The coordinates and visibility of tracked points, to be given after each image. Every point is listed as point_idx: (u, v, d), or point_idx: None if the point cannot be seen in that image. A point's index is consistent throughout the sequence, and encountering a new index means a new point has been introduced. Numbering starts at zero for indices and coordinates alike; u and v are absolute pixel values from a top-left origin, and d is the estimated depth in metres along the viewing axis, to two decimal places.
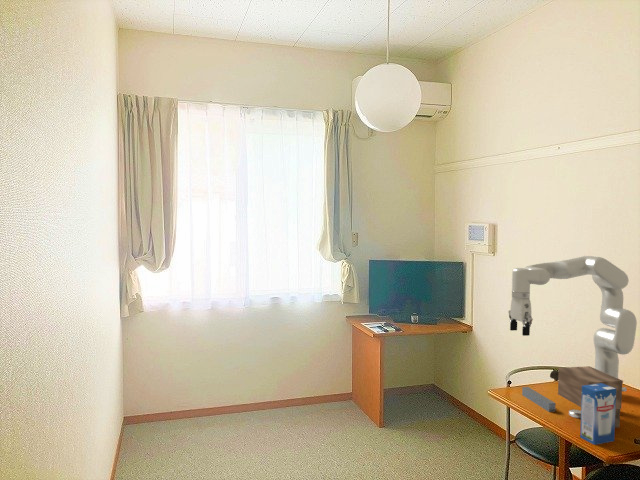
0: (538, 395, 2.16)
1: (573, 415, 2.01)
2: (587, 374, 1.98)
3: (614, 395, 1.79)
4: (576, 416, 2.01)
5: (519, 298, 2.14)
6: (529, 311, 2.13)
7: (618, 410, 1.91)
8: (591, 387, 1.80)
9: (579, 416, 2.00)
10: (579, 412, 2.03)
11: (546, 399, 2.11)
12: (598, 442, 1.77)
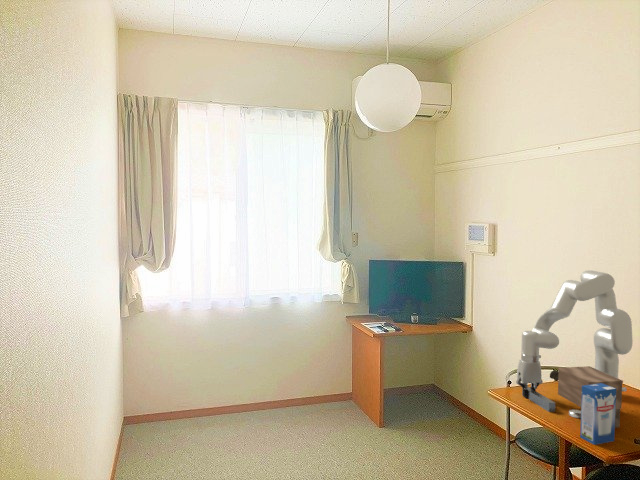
0: (538, 395, 2.16)
1: (573, 415, 2.01)
2: (587, 374, 1.98)
3: (614, 395, 1.79)
4: (576, 416, 2.01)
5: (538, 361, 2.21)
6: None
7: (618, 410, 1.91)
8: (591, 387, 1.80)
9: (579, 416, 2.00)
10: (579, 412, 2.03)
11: (546, 399, 2.11)
12: (598, 442, 1.77)
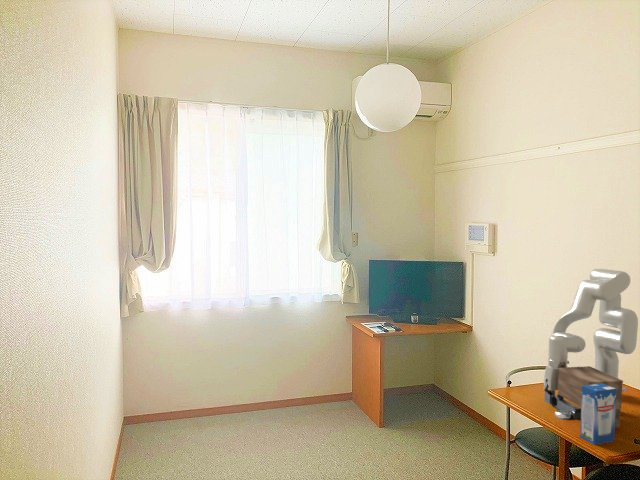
0: (562, 400, 2.09)
1: (559, 416, 2.00)
2: (587, 374, 1.98)
3: (614, 395, 1.79)
4: (562, 417, 1.99)
5: None
6: None
7: (618, 410, 1.91)
8: (591, 387, 1.80)
9: (565, 416, 1.99)
10: (565, 412, 2.02)
11: (571, 404, 2.04)
12: (598, 442, 1.77)
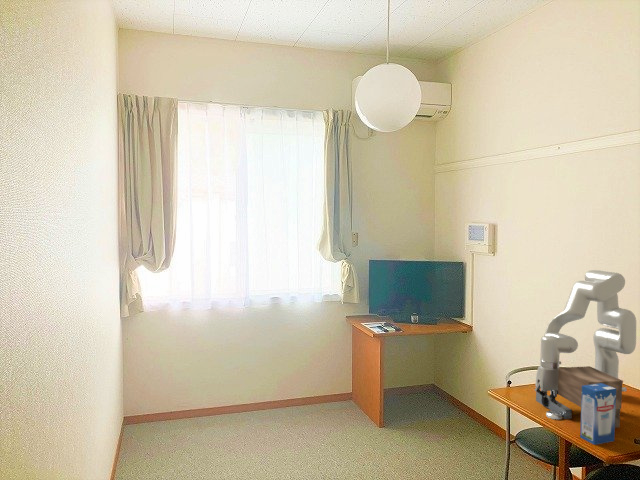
0: (553, 401, 2.08)
1: (551, 417, 2.00)
2: (587, 374, 1.98)
3: (614, 395, 1.79)
4: (554, 418, 1.99)
5: (558, 367, 2.10)
6: None
7: (618, 410, 1.91)
8: (591, 387, 1.80)
9: (557, 417, 1.99)
10: (556, 413, 2.02)
11: (562, 405, 2.04)
12: (598, 442, 1.77)
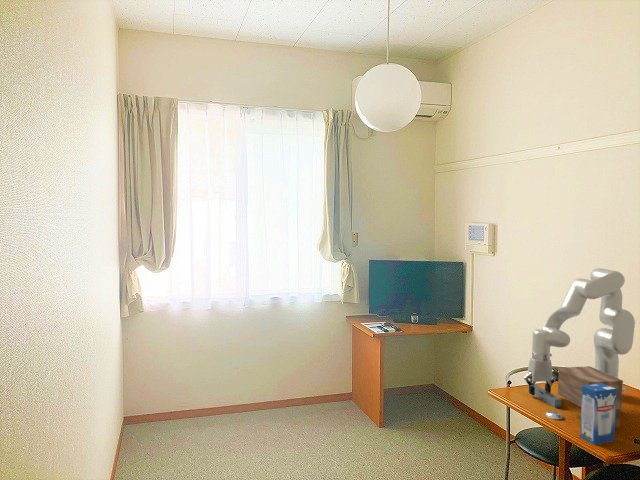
0: (544, 391, 2.20)
1: (551, 416, 2.00)
2: (587, 374, 1.98)
3: (614, 395, 1.79)
4: (554, 417, 1.99)
5: (549, 359, 2.22)
6: None
7: (618, 410, 1.91)
8: (591, 387, 1.80)
9: (557, 417, 1.99)
10: (556, 413, 2.02)
11: (552, 395, 2.15)
12: (598, 442, 1.77)
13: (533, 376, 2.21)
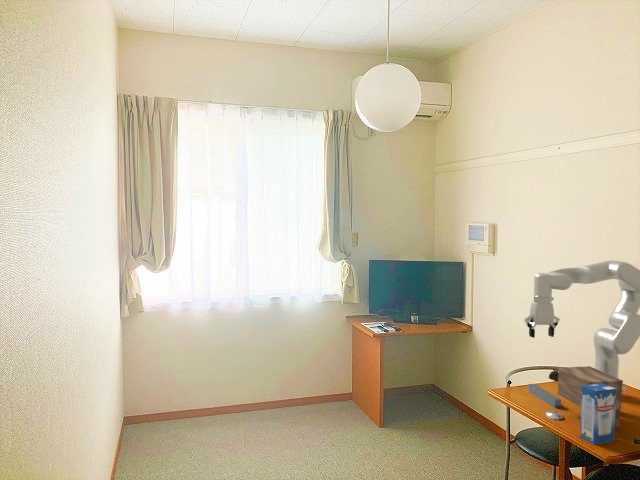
0: (544, 391, 2.20)
1: (551, 416, 2.00)
2: (587, 374, 1.98)
3: (614, 395, 1.79)
4: (554, 417, 1.99)
5: (551, 302, 2.21)
6: None
7: (618, 410, 1.91)
8: (591, 387, 1.80)
9: (557, 417, 1.99)
10: (556, 413, 2.02)
11: (552, 395, 2.15)
12: (598, 442, 1.77)
13: (535, 319, 2.20)
